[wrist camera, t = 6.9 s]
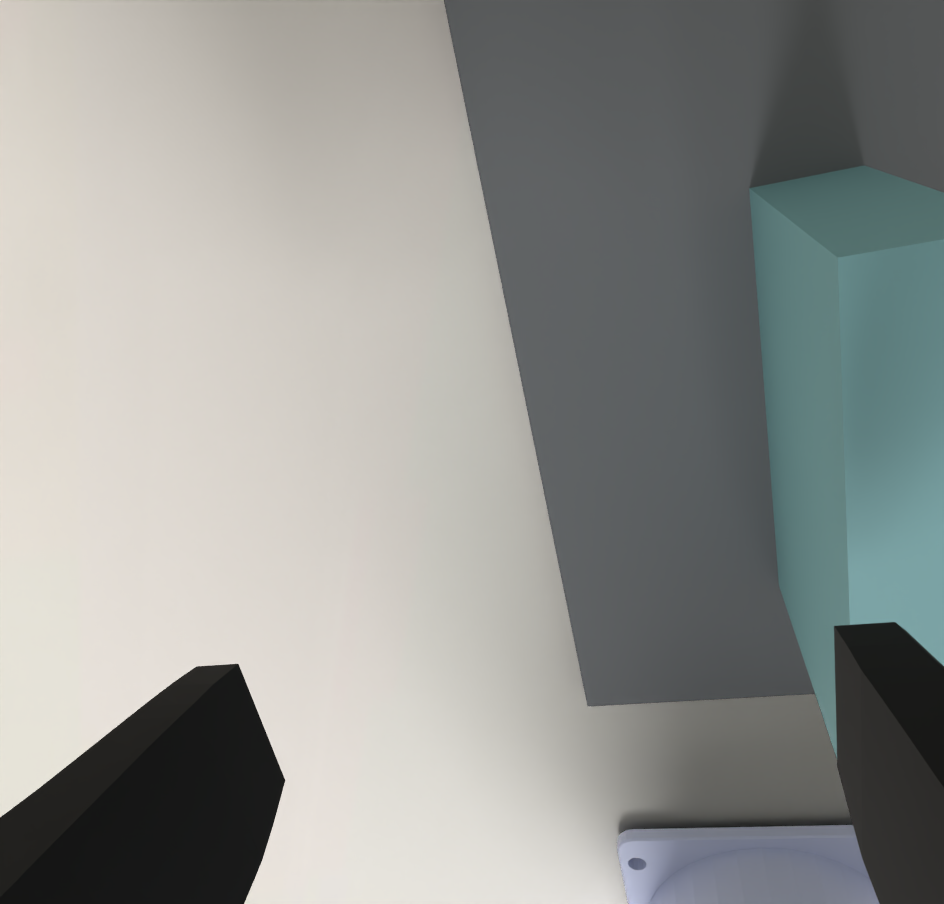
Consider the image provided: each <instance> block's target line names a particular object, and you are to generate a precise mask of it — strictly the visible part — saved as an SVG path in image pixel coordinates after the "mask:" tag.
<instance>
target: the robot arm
mask: <svg viewBox="0 0 944 904" xmlns="http://www.w3.org/2000/svg"><path fill="white" fill-rule="evenodd" d="M834 651H835V692H836V733H837V766H838V770H839V774H840V778H841V782H842V786H843V789H844V793H845V797H846V801H847V805H848V808H849V812H850V816H851V820H852V823H853V825H820V826H769V827H718V828H667V829H630V830H626V831H624V832H622V833H620V835H619V836H618V840H617V851H618V856H619V861H620V866H621V871H622V876H623V881H624V886H625V890H626V895H627V900H628V904H944V666H943V665H942V664H941V663H940V662H939V661H938V660H937V659H936V658H934V657H933V656H932V655H931V654H930V653H929V652H928V651H927V650H926V649H925V648H924V647H923V646H922V645H921V644H920V643H919V642H918V641H917V640H915V639H914V638H913V637H912V636H911V635H910V634H909V633H908V632H907V631H906V630H905V629H903V628H902V627H901V626H900V625H898V624H897V623H896V622H886V623H871V624H855V625H839V626H834ZM284 783H285V779H284V776H283V774H282V771H281V769H280V767H279V764H278V762H277V759H276V757H275V754H274V752H273V749H272V747H271V744H270V742H269V739H268V737H267V734H266V732H265V729H264V727H263V724H262V722H261V719H260V717H259V714H258V712H257V709H256V707H255V704H254V702H253V699H252V697H251V694H250V692H249V689H248V687H247V684H246V682H245V679H244V677H243V675H242V672H241V670H240V667H239V665H238V664H230V665H214V666H198V667H195V668H194V669H192V670H191V671H190V672H188V673H187V674H185V675H184V676H182V677H181V678H179V679H178V680H177V681H175V682H174V683H172V684H171V685H170V686H168V687H167V688H166V689H164V690H163V691H162V692H160V693H159V694H158V695H157V696H155V697H154V698H153V699H151V700H150V701H149V702H147V703H146V704H145V705H144V706H142V707H141V708H140V709H139V710H137V711H136V712H135V713H134V714H132V715H131V716H130V717H128V718H127V719H126V720H125V721H123V722H122V723H121V724H120V725H118V726H117V727H116V728H115V729H113V730H112V731H111V732H110V733H108V734H107V735H106V736H105V737H103V738H102V739H101V740H100V741H98V742H97V743H96V744H95V745H93V746H92V747H91V748H90V749H88V750H87V751H86V752H84V753H83V754H82V755H81V756H79V757H78V758H77V759H76V760H74V761H73V762H72V763H71V764H69V765H68V766H67V767H66V768H64V769H63V770H62V771H61V772H59V773H58V774H57V775H55V776H54V777H53V778H52V779H50V780H49V781H48V782H47V783H45V784H44V785H43V786H42V787H40V788H39V789H38V790H36V791H35V792H34V793H32V794H31V795H30V796H28V797H27V798H26V799H24V800H23V801H22V802H20V803H19V804H18V805H16V806H15V807H14V808H12V809H11V810H10V811H8V812H7V813H6V814H4V815H3V816H2V817H0V904H244V902H245V900H246V898H247V895H248V893H249V891H250V888H251V886H252V883H253V881H254V879H255V876H256V874H257V871H258V869H259V866H260V864H261V861H262V859H263V856H264V852H265V849H266V846H267V843H268V839H269V836H270V833H271V830H272V826H273V823H274V819H275V816H276V812H277V808H278V805H279V801H280V797H281V794H282V790H283V786H284Z"/></svg>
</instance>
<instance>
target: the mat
mask: <svg viewBox="0 0 944 904" xmlns="http://www.w3.org/2000/svg"><path fill="white" fill-rule="evenodd" d="M444 3H445V8H446V13H447V18H448V23H449V27H450V32H451V37H452V42H453V47H454V52H455V57H456V62H457V67H458V72H459V77H460V82H461V86H462V91H463V96H464V101H465V106H466V111H467V116H468V121H469V126H470V131H471V136H472V140H473V145H474V150H475V155H476V160H477V165H478V170H479V175H480V180H481V185H482V190H483V194H484V199H485V204H486V209H487V214H488V219H489V224H490V229H491V234H492V239H493V244H494V248H495V253H496V258H497V263H498V268H499V273H500V278H501V283H502V288H503V293H504V298H505V303H506V307H507V312H508V317H509V322H510V327H511V332H512V337H513V342H514V347H515V352H516V357H517V361H518V366H519V371H520V376H521V381H522V386H523V391H524V396H525V401H526V406H527V411H528V415H529V420H530V425H531V430H532V435H533V440H534V445H535V450H536V455H537V460H538V465H539V470H540V474H541V479H542V484H543V489H544V494H545V499H546V504H547V509H548V514H549V519H550V524H551V528H552V533H553V538H554V543H555V548H556V553H557V558H558V563H559V568H560V573H561V578H562V582H563V587H564V592H565V597H566V602H567V607H568V612H569V617H570V622H571V627H572V632H573V636H574V641H575V646H576V651H577V656H578V661H579V666H580V671H581V676H582V681H583V686H584V691H585V695H586V700H587V705H588V706H605V705H623V704H641V703H659V702H677V701H695V700H712V699H730V698H748V697H766V696H784V695H802V694H815V692H814V689H813V686H812V683H811V680H810V677H809V674H808V671H807V668H806V665H805V662H804V659H803V656H802V653H801V650H800V647H799V644H798V641H797V638H796V635H795V632H794V629H793V626H792V623H791V620H790V617H789V614H788V611H787V608H786V605H785V602H784V599H783V596H782V593H781V590H780V587H779V579H778V566H777V553H776V539H775V526H774V513H773V499H772V486H771V472H770V459H769V446H768V432H767V419H766V406H765V392H764V379H763V366H762V352H761V339H760V326H759V312H758V299H757V285H756V272H755V259H754V245H753V232H752V219H751V205H750V192H749V188H753V187H758V186H763V185H768V184H773V183H778V182H783V181H788V180H793V179H798V178H803V177H808V176H813V175H818V174H823V173H828V172H833V171H839V170H844V169H849V168H854V167H859V166H867V167H870V168H873V169H876V170H879V171H882V172H885V173H888V174H891V175H894V176H897V177H900V178H902V179H905V180H908V181H911V182H914V183H917V184H920V185H923V186H926V187H929V188H932V189H935V190H938V191H940V192H943V193H944V0H444Z"/></svg>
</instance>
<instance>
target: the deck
mask: <svg viewBox="0 0 944 904" xmlns="http://www.w3.org/2000/svg"><path fill="white" fill-rule="evenodd" d="M749 192H750V205H751V219H752V232H753V245H754V259H755V272H756V285H757V299H758V312H759V326H760V339H761V352H762V366H763V379H764V392H765V406H766V419H767V432H768V446H769V459H770V472H771V486H772V499H773V513H774V526H775V539H776V553H777V566H778V579H779V587H780V590H781V593H782V596H783V599H784V602H785V605H786V608H787V611H788V614H789V617H790V620H791V623H792V626H793V629H794V632H795V635H796V638H797V641H798V644H799V647H800V650H801V653H802V656H803V659H804V662H805V665H806V668H807V671H808V674H809V677H810V680H811V683H812V686H813V689H814V692H815V695H816V698H817V701H818V704H819V707H820V710H821V713H822V716H823V719H824V722H825V725H826V728H827V731H828V734H829V737H830V740H831V743H832V746H833V749H834V752H835V755H836V758H837V733H836V692H835V651H834V626H839V625H855V624H871V623H886V622H896V623H897V624H898V625H900V626H901V627H902V628H903V629H905V630H906V631H907V632H908V633H909V634H910V635H911V636H912V637H913V638H914V639H915V640H917V641H918V642H919V643H920V644H921V645H922V646H923V647H924V648H925V649H926V650H927V651H928V652H929V653H930V654H931V655H932V656H933V657H934V658H936V659H937V660H938V661H939V662H940V663H941V664H942V665H943V666H944V193H943V192H940V191H938V190H935V189H932V188H929V187H926V186H923V185H920V184H917V183H914V182H911V181H908V180H905V179H902V178H900V177H897V176H894V175H891V174H888V173H885V172H882V171H879V170H876V169H873V168H870V167H867V166H859V167H854V168H849V169H844V170H839V171H833V172H828V173H823V174H818V175H813V176H808V177H803V178H798V179H793V180H788V181H783V182H778V183H773V184H768V185H763V186H758V187H753V188H749Z"/></svg>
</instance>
